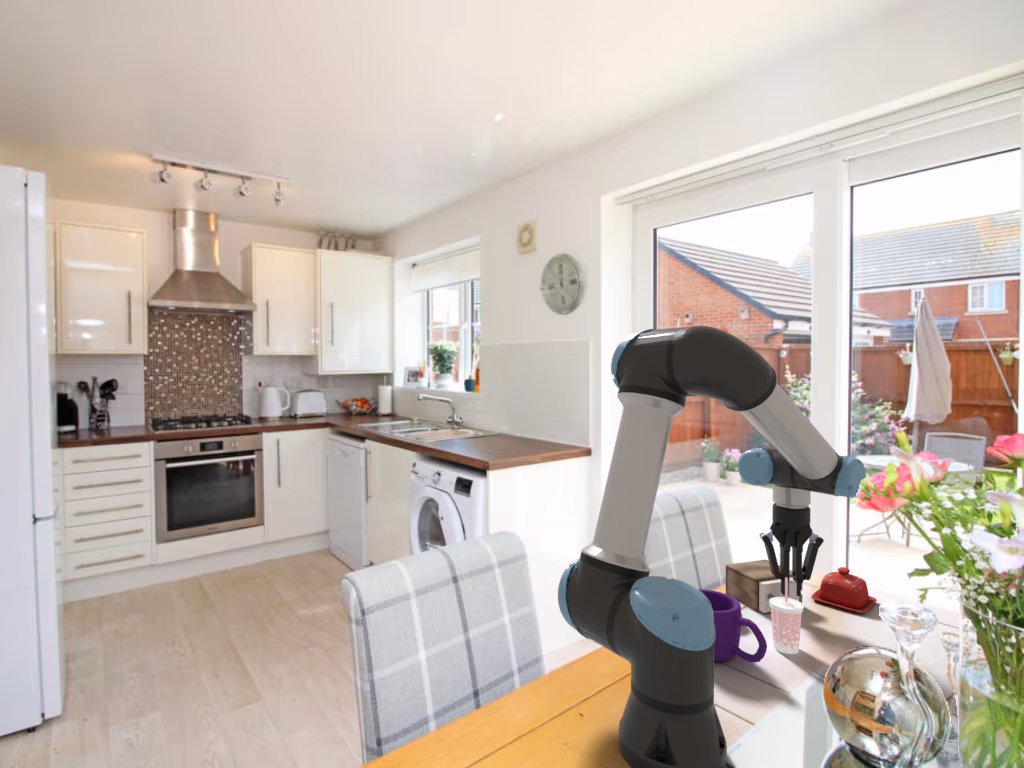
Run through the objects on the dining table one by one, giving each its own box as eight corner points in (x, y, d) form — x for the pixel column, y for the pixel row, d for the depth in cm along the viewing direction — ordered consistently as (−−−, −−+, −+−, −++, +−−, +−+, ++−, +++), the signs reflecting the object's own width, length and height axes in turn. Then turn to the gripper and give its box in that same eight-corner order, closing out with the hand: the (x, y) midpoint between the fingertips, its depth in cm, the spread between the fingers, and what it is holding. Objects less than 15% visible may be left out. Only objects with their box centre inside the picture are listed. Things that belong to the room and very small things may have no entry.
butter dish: (863, 618, 122) (864, 580, 122) (808, 602, 131) (808, 567, 131) (878, 603, 130) (879, 568, 130) (825, 589, 139) (825, 556, 139)
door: (798, 603, 129) (799, 575, 129) (808, 607, 126) (808, 579, 126) (759, 610, 125) (759, 582, 125) (768, 615, 123) (768, 586, 122)
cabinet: (797, 605, 129) (797, 573, 129) (754, 611, 125) (755, 579, 125) (765, 589, 138) (765, 559, 138) (725, 595, 135) (725, 564, 135)
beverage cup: (810, 651, 108) (810, 580, 107) (789, 658, 105) (790, 585, 104) (782, 638, 113) (782, 570, 113) (762, 644, 110) (762, 575, 110)
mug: (667, 647, 109) (667, 597, 109) (702, 631, 116) (702, 584, 116) (748, 687, 95) (748, 630, 95) (783, 667, 102) (783, 613, 102)
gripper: (815, 501, 125) (815, 604, 125) (755, 499, 127) (754, 601, 127) (830, 509, 117) (829, 618, 118) (765, 507, 119) (765, 615, 120)
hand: (790, 609), depth 123 cm, fingers closed
